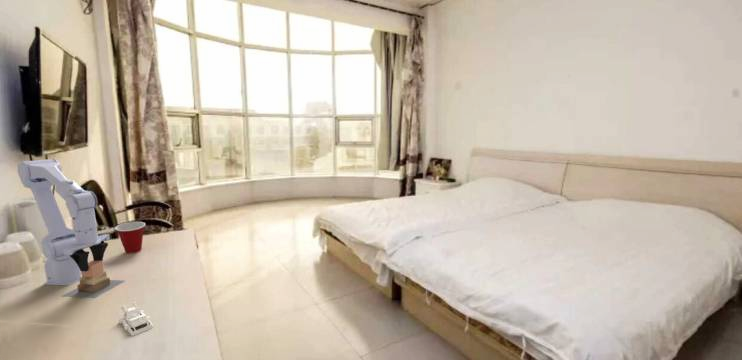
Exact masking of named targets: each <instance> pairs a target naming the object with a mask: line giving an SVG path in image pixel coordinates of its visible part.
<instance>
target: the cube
mask: <svg viewBox="0 0 742 360" xmlns="http://www.w3.org/2000/svg"><path fill="white" fill-rule="evenodd" d="M103 272H104V265H103V261H94V260H88V271H81V273H82V277H95V276H97V275H99V274H101V273H103Z"/></svg>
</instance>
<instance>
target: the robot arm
mask: <svg viewBox="0 0 742 360" xmlns="http://www.w3.org/2000/svg"><path fill="white" fill-rule="evenodd" d="M17 174H18V177H19V179H20V182H21V184H22V185H23V187H24V188H26V189H30V191H31V193H32V196H33V197H34V200H35V202H36V205H37V207H38V210H39V211H40V214H41V217H42V219H43V222H44V223H45V227H46V229H47V231H48V233H47V234H46V235H45V236H44V237H43V238H42V240H41V242H40V244H41V247H42V253H43V256H44V257H45V259H46V261H45V263H44V272H45V273H44V274H45V277H46V278H45V279H46V282H44V284H45V285H53V286H55V285H57V286H71V285H72V284H74V283H76V282H79V277H81V276H82V273H81V271H88V262H89V255H90V252H91V254H92V259H93V260H92V261H102V262H103V260H104V256H105V252H106V249H107V247H108V246H109V243H108V241H110V240H111V238H110V237H111V236H110V234H106V233H105V234H100V235H99V234H98V233H99V232H98V226H97V225H98V224H97V219H96V212H95V208H97V207H98V198H97V196H96V194H95V193H94V192H93V191H91V190H85V189H84V188H83V187H81V186H80V185H79V184H78V183H77V182H76V181H74V180H73V179H68V178H67V177H66V176H65V175H64V174H63V172H62V166H61V163H60V161H59V160H57V159H56V158H49V159H39V160H27V161H25V160H20V161H19V163H18V164H17ZM52 186H55V188H54V190H55V192H56V193H57V194H58V195H59V196H60V198H62V199H63V200H64V201H65V206H66V208H67V211H68V213H69V217H70V218H72V224H73V225H72V226H73V228H69V227H67V224H66V222H65V220H64V217H63V214H62V212H61V210H60V207H59V205H58V203H57V200H56V197H55V195H54V193H53V190H52ZM105 241H107V242H105ZM88 248H89V249H90V251H88V250H87V251H85V249H88Z"/></svg>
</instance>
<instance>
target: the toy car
mask: <svg viewBox="0 0 742 360" xmlns="http://www.w3.org/2000/svg"><path fill="white" fill-rule="evenodd" d="M131 305H132V307H131V306H130V307H129V308H127V307H126V305H122V306H121V307H120V309H121V310H122V311H123V313H122V314H123V315H122V317H120V318H118V323H119V324H120V325H121V324H122V325H123V328H124V330H125V332H128V333H129V335H130V336H136V335H138V334H140V333H141V334H142V333H143V332H145V331H148V330H151V329H153V328H154V327H155V326H154V324H153V323H152V322H151V316H149V315H148V316H147V314H145V311H144V309H141V310H140V308H139V307H138V305H137V302H136V301H133V302H132V303H131ZM144 324H146V326H144V327H141V328H138V329H137V330H136V327H139V326H142V325H144ZM133 330H134V331H133Z"/></svg>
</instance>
